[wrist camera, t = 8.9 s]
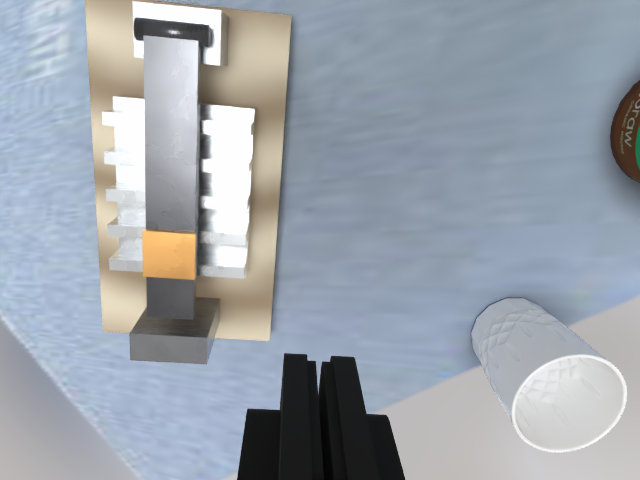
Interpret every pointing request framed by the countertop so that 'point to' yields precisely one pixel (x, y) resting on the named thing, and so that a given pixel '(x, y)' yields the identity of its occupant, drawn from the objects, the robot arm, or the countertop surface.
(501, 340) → the white cup
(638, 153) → the food container
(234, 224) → the heat sink
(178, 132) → the strap
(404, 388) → the countertop surface
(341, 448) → the robot arm
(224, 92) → the board
